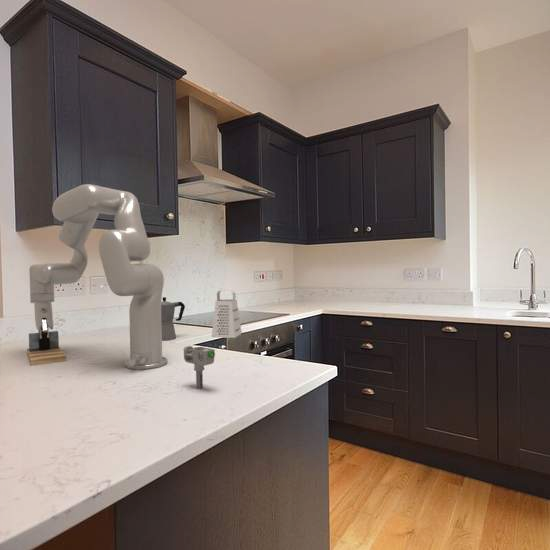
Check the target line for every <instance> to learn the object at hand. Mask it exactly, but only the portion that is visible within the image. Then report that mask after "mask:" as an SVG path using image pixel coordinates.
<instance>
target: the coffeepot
mask: <svg viewBox="0 0 550 550" xmlns="http://www.w3.org/2000/svg"><path fill="white" fill-rule="evenodd" d="M161 300H162V301H161V325H162V342H165V341H167V342H168V341H173V340H175V339H176V338H177V335H176V330H175V329H176V328H175V325H174V319H175V308H176V307H180V308H179V309H180V310H179V313H178V318H176V319H175V320H176V322H178V321H181V320H182V318H183V315H184V312H185V308H186V305H185V304H184V303H183V302H182V301H176V302H170V301H167V297H166V296H163V297H162V298H161Z"/></svg>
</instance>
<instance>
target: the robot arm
mask: <svg viewBox="0 0 550 550" xmlns="http://www.w3.org/2000/svg"><path fill="white" fill-rule="evenodd" d="M51 211H52V215H53V217H54V218H55V219H56V220H58V221H61V222H63V225H62V226H61V229H60V230H59V233H58V239H59V241H60V242H61V243H63V244H64V245H65V246H67V247H69V248H70V249H72V250H73V255H72V257H71V259H70V262H58V263H57V262H56V263H55V262H53V263H49V262H48V263H43V264H42V263H41V264H31V265H30V266H29V269H28V271H29V299H30V300H29V301H30V304H34V320H35V321H34V322H35V323H34V324H35V327H36V330H38V332H37V333H40V339H39V350H46V349H50V339H49V332H50V330H53V329H54V318H53V317H54V316H53V306H52V305H53V304H52V303H54V302H55V285H70V284H75V283H77V282H78V281H80V279H81V278H82V276H83V274H84V273H85V271H86V269H87V266H88V260H89V259H88V257H89V256H88V250H87V249H86V246H85V244H86V242H87V240H88V239H89V236H90V234H91V232H92V230H93V228H94V226H95V223H96V221H97V219H98V217H99V215H100V214H101V215H108V216H111V215H112V216H114V219H113V223H114V228H115V229H108V230H106V231H105V232H103V234H102V235H101V236H100V239H99V242H98V243H99V245H98V251H99V257H100V260H101V263H102V268H103V271H104V275H105V278H106V282H107V285H108V287H109V289H110V291H111V292H112V293H113V294H114V295H116V296H118V297H132V299H131V301H130V304H129V311H128V314H129V318H128V319H129V348H130V349H129V350H130V352H129V353H130V354H129V355H130V359H128V360H127V361H125V362H124V364H125V365H124V366H125V368H127V369H131V370H145V369H146V370H148V369H153V368H154V369H155V368H159V367H163V366H165V365H167V364H168V358H167V357H165V356H163V341H162V325H161V302H162V298H163V297H162V295H163V290H164V289H163V288H164V283H165V278H164V277H165V276H164V274H163V272H162V270H161V269H160V268H159V267H158V266H156V265H154V264H150V263H131V262H141V261H145V260H147V259H148V258H149V256H150V254H151V246H150V242H149V237H148V236H147V231H146V228H145V224H144V222H143V218H142V215H141V208H140V203H139V201H138V198H137V196H135V194H133V193H132V192H130V191H126V190H120V189H114V188H110V187H105V186H100V185H96V184H90V183H88V184H87V183H86V184H85V183H84V184H81V185H78V186H76V187H75V188H71V189H70V190H67V191H66V192H64V193H62V194H60V195H58V197H57V198H56V199H54V202H53V204H52V207H51ZM49 329H50V330H49Z"/></svg>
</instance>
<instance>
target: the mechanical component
mask: <svg viewBox="0 0 550 550" xmlns="http://www.w3.org/2000/svg"><path fill="white" fill-rule="evenodd" d="M215 355H216V352H215V349H214V348H209V347H204V346H196V347H193V346H191V345H187V346H185V347H183V360H184V361H185V362H186V363H188V364H193V366H194V367H193V370H194V371H195V379H196V380H195V385H196V389H201V388H204V387H203V386H204V384H203V382H204V381H203V376H204V375H203V371H204V370H205V366H208V365H212V364H214V362H215V357H216V356H215Z"/></svg>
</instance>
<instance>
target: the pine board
mask: <svg viewBox="0 0 550 550" xmlns="http://www.w3.org/2000/svg"><path fill="white" fill-rule="evenodd" d="M26 353H27V357H28V361H29V363H30V366H37V365H44V364H49V363H50V364H51V363H59V362H60V363H61V362H66V361H67V356H66V354H65V353H64V351H63V350H62V349H61V347H60V346H59V349H51V350H42V351H34V352H30V351H29V347H28V348H26Z"/></svg>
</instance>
